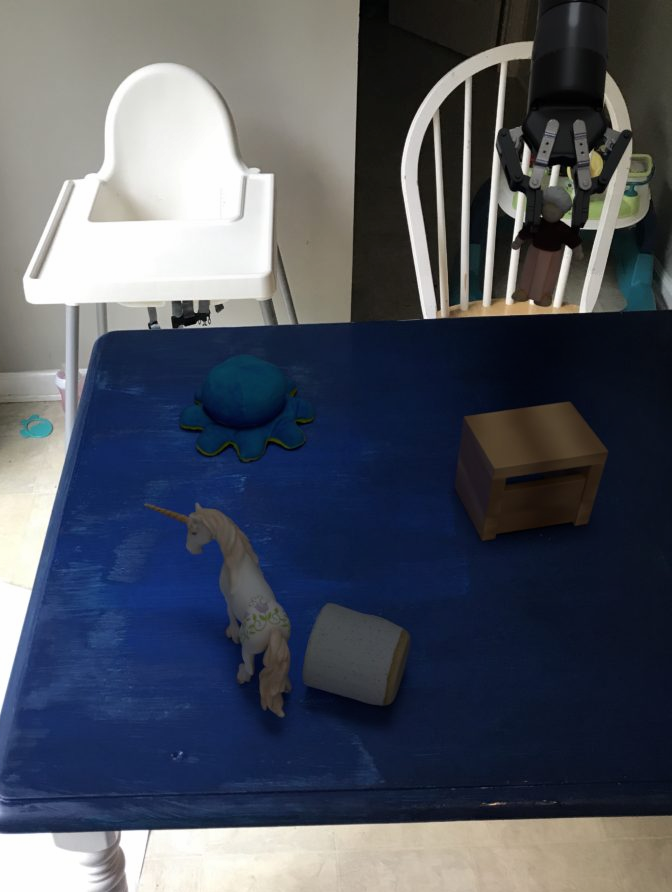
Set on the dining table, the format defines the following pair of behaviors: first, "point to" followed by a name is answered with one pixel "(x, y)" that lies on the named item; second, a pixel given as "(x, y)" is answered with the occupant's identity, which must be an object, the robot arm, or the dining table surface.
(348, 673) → the grey cylinder
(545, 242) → the grandmother figurine
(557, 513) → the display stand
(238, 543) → the unicorn figurine
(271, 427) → the plush toy
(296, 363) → the dining table surface
